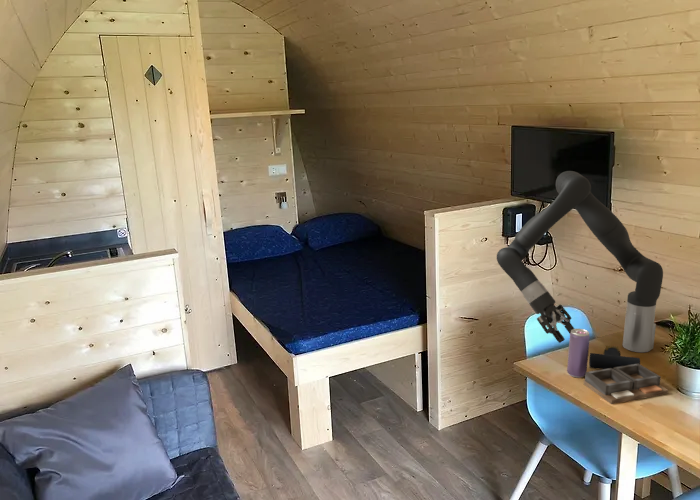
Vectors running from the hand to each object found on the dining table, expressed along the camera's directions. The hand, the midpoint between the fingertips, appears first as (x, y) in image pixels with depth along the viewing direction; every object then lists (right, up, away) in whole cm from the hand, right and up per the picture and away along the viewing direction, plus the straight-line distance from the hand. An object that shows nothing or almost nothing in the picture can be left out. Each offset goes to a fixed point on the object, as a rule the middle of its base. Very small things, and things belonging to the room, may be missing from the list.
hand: (568, 337), depth 192 cm
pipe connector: (+17, -11, +6) cm, 21 cm away
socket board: (+14, -15, -10) cm, 22 cm away
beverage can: (+3, -12, +1) cm, 13 cm away
